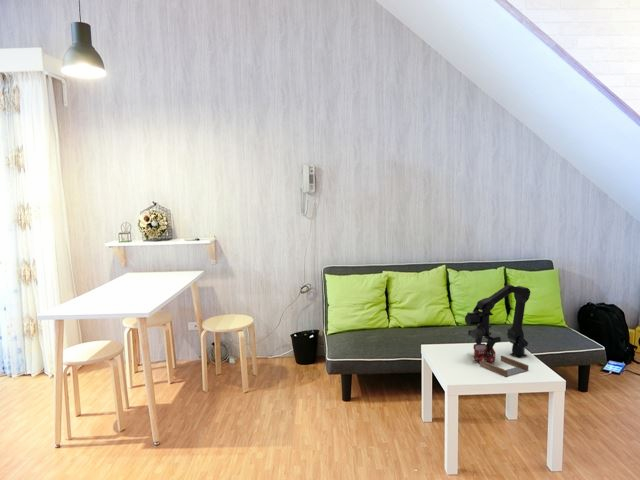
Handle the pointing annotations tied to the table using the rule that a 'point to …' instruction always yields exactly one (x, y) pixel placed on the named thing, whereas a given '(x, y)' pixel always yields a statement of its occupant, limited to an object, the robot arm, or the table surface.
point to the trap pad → (514, 371)
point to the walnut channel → (500, 370)
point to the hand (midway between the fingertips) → (484, 350)
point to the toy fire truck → (483, 353)
